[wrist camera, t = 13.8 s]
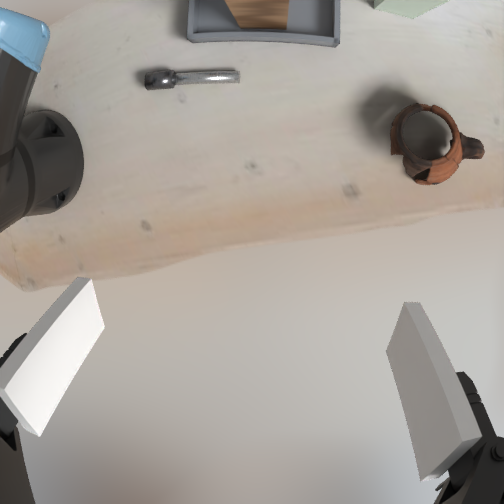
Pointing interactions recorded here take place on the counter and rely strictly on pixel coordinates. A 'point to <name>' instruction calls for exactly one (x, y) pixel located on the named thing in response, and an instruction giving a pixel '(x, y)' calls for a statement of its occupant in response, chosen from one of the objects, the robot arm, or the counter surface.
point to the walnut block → (260, 13)
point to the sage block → (407, 6)
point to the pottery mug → (442, 166)
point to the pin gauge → (188, 78)
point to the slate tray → (298, 29)
